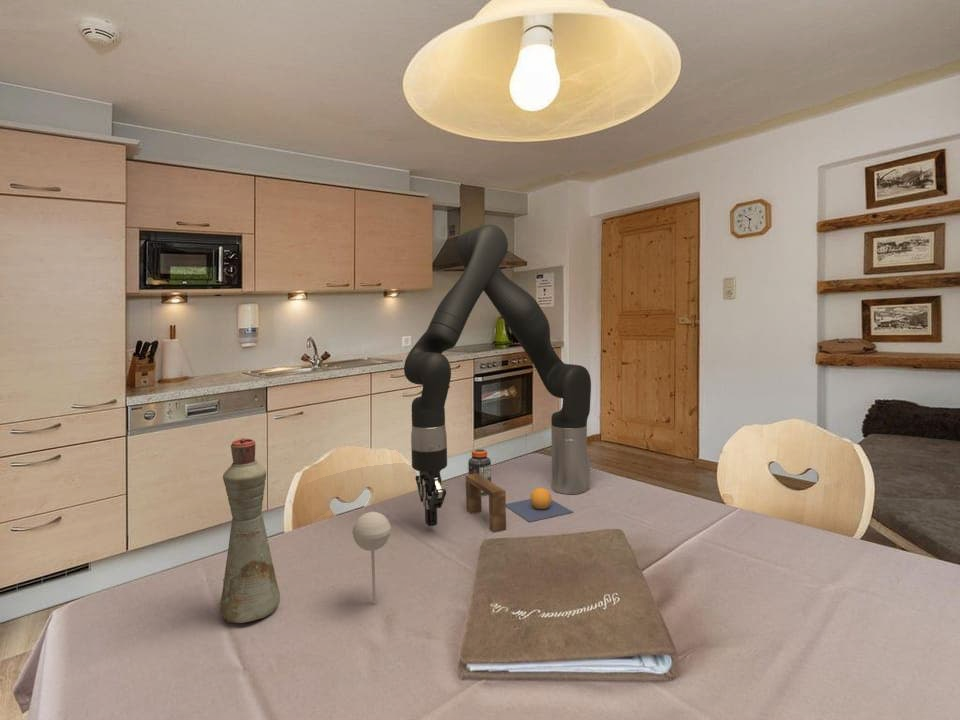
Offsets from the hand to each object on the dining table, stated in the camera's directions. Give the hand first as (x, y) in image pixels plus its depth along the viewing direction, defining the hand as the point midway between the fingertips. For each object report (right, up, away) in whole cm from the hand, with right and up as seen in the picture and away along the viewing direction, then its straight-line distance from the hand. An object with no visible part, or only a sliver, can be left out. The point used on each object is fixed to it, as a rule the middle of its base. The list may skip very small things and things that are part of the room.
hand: (431, 524), depth 109 cm
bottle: (-26, -5, -29) cm, 39 cm away
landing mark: (+24, 0, +12) cm, 27 cm away
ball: (+25, +2, +12) cm, 28 cm away
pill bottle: (+11, 0, +24) cm, 26 cm away
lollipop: (-7, -4, -27) cm, 28 cm away
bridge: (+12, -1, +6) cm, 13 cm away
